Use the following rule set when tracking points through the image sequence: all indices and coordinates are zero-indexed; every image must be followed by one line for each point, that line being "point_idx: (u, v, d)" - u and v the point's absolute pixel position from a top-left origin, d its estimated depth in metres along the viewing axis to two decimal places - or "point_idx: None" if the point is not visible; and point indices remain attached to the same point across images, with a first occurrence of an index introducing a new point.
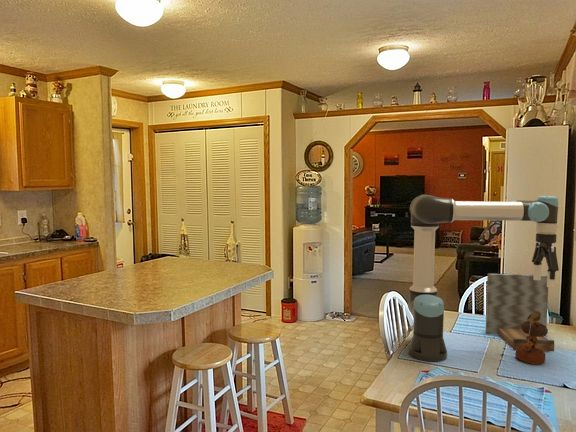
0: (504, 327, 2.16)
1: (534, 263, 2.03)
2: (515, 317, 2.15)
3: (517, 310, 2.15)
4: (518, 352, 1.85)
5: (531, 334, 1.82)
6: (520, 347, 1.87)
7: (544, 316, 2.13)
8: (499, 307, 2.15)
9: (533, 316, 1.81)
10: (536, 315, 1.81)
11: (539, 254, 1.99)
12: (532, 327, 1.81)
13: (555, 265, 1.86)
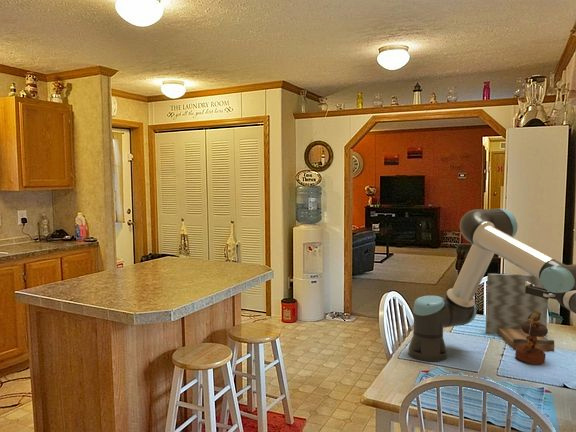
0: (504, 327, 2.16)
1: None
2: (515, 317, 2.15)
3: (517, 310, 2.15)
4: (518, 352, 1.85)
5: (531, 334, 1.82)
6: (520, 347, 1.87)
7: (544, 316, 2.13)
8: (499, 307, 2.15)
9: (533, 316, 1.81)
10: (536, 315, 1.81)
11: None
12: (532, 327, 1.81)
13: (529, 291, 1.65)
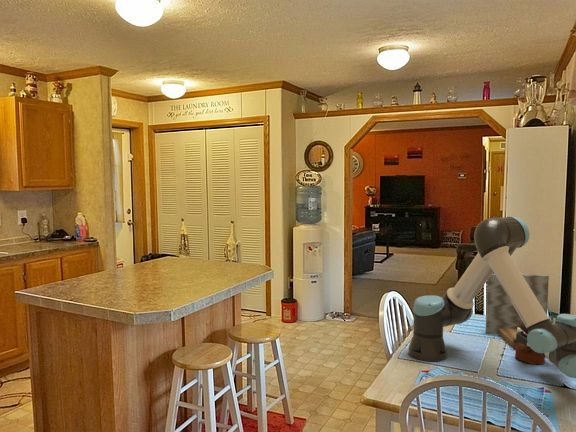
0: (504, 327, 2.16)
1: None
2: (515, 317, 2.15)
3: None
4: (518, 352, 1.85)
5: None
6: (519, 347, 1.87)
7: None
8: (499, 307, 2.15)
9: None
10: None
11: None
12: None
13: (518, 338, 1.80)
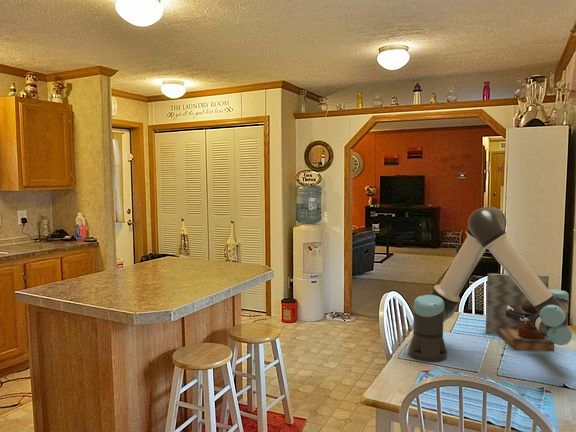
0: (504, 327, 2.16)
1: None
2: None
3: (517, 310, 2.15)
4: (521, 330, 2.03)
5: (531, 312, 2.00)
6: (522, 325, 2.05)
7: None
8: (499, 307, 2.15)
9: None
10: None
11: None
12: (531, 306, 2.00)
13: (508, 315, 1.99)
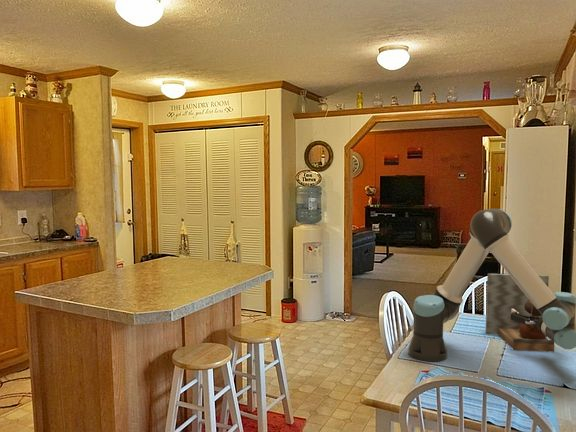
0: (504, 327, 2.16)
1: None
2: None
3: (517, 310, 2.15)
4: (522, 329, 2.03)
5: (533, 314, 1.98)
6: (523, 324, 2.04)
7: None
8: (499, 307, 2.15)
9: None
10: None
11: None
12: (534, 308, 1.97)
13: (513, 318, 1.94)
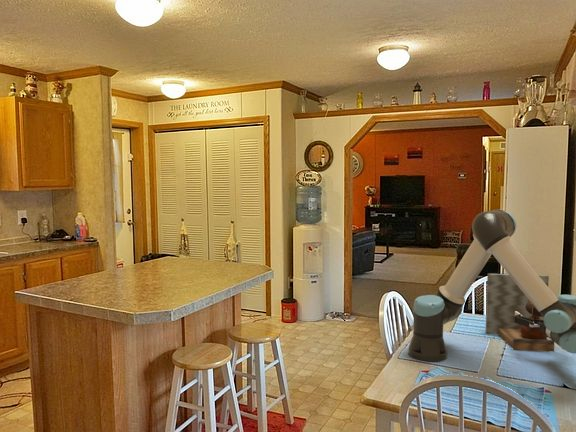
0: (504, 327, 2.16)
1: None
2: None
3: (517, 310, 2.15)
4: (522, 329, 2.02)
5: (534, 315, 1.97)
6: None
7: None
8: (499, 307, 2.15)
9: None
10: None
11: None
12: (535, 309, 1.96)
13: (517, 321, 1.90)
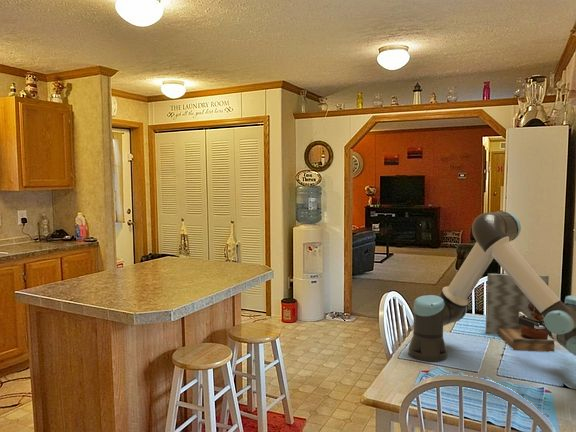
0: (504, 327, 2.16)
1: None
2: (515, 317, 2.15)
3: (517, 310, 2.15)
4: (523, 328, 2.03)
5: (536, 311, 2.00)
6: None
7: None
8: (499, 307, 2.15)
9: None
10: None
11: None
12: None
13: (521, 322, 1.83)
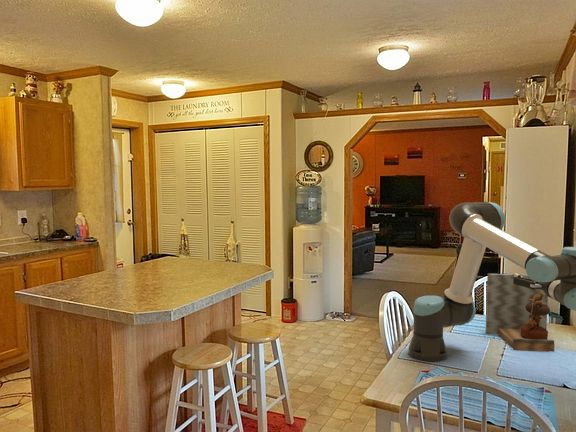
0: (504, 327, 2.16)
1: None
2: (515, 317, 2.15)
3: (517, 310, 2.15)
4: (522, 329, 2.03)
5: (533, 313, 2.00)
6: (524, 325, 2.05)
7: (544, 316, 2.13)
8: (499, 307, 2.15)
9: (535, 296, 1.99)
10: (538, 296, 1.99)
11: None
12: (534, 307, 2.00)
13: (516, 282, 1.71)
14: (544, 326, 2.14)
